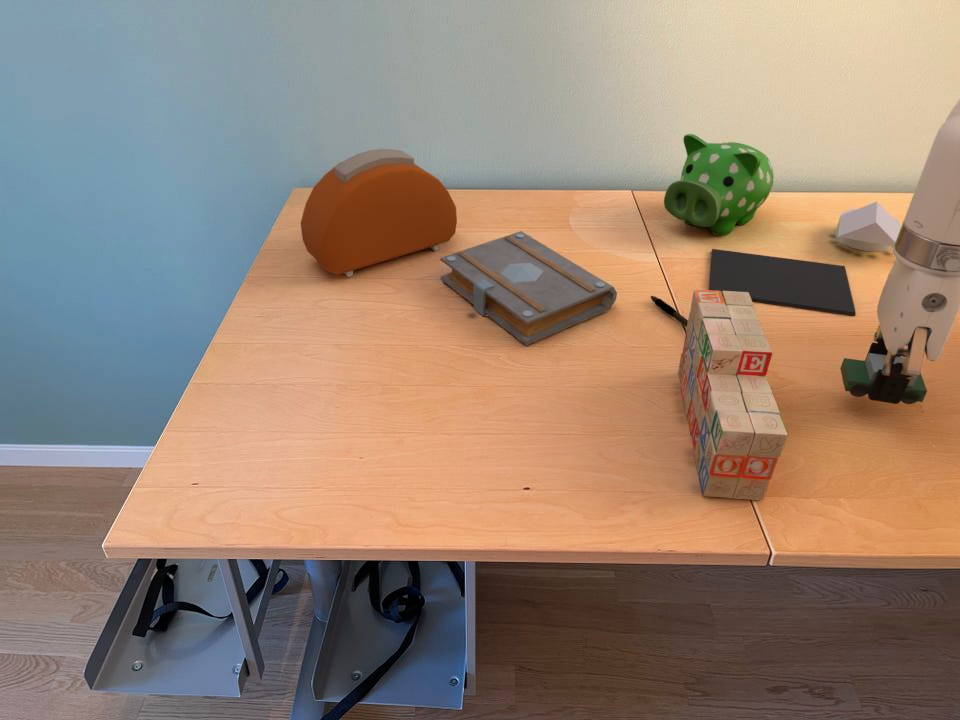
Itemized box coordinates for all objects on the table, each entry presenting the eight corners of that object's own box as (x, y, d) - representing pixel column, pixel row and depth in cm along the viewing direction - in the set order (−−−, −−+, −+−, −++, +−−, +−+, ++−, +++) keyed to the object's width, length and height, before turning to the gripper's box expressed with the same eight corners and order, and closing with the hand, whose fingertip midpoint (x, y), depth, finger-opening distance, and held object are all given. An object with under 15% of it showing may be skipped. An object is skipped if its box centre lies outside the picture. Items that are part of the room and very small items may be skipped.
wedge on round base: (893, 267, 110) (893, 232, 119) (908, 228, 105) (907, 195, 115) (831, 255, 113) (836, 223, 122) (844, 217, 109) (848, 186, 118)
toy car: (923, 357, 80) (932, 381, 76) (912, 382, 82) (920, 406, 78) (847, 348, 81) (853, 370, 78) (838, 372, 84) (843, 395, 80)
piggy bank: (648, 225, 122) (662, 140, 112) (707, 196, 131) (724, 116, 122) (720, 254, 113) (741, 164, 104) (777, 220, 123) (801, 136, 114)
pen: (723, 348, 92) (724, 341, 91) (713, 351, 91) (714, 344, 91) (656, 298, 102) (658, 291, 101) (647, 300, 101) (648, 294, 101)
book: (614, 309, 100) (618, 279, 97) (523, 348, 92) (525, 317, 89) (524, 252, 114) (525, 224, 111) (438, 282, 106) (437, 253, 103)
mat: (843, 269, 109) (844, 265, 109) (854, 316, 98) (856, 312, 98) (711, 251, 114) (712, 248, 113) (708, 295, 103) (708, 291, 103)
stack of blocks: (764, 502, 71) (797, 411, 63) (701, 498, 71) (726, 406, 64) (727, 374, 88) (749, 289, 80) (676, 371, 88) (694, 287, 81)
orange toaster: (432, 226, 121) (427, 130, 111) (459, 246, 115) (456, 147, 105) (305, 262, 111) (287, 160, 101) (327, 286, 105) (311, 181, 95)
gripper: (1005, 293, 62) (930, 441, 73) (961, 213, 75) (902, 349, 86) (912, 282, 64) (852, 428, 75) (885, 206, 77) (837, 340, 88)
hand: (880, 385), depth 81 cm, fingers closed on toy car, 4 cm apart
